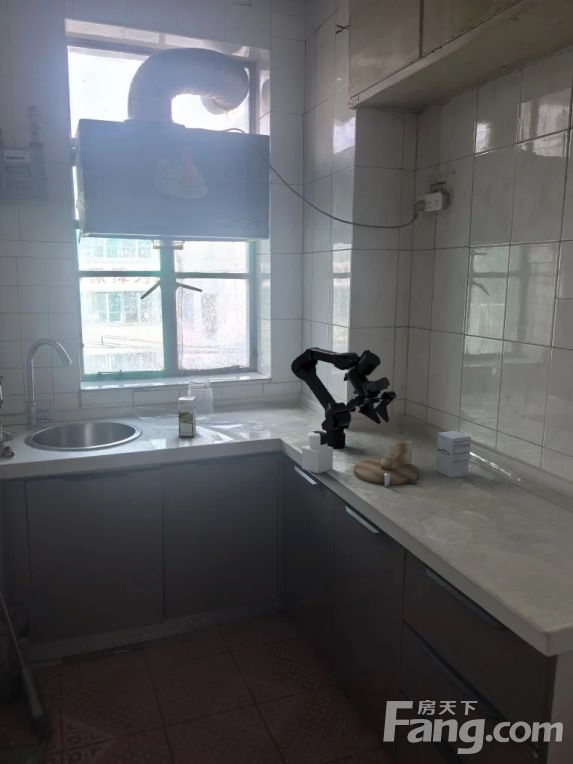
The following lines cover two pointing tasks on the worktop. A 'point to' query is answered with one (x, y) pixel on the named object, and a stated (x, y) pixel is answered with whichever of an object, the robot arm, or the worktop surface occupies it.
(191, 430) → the syrup box
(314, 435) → the medicine bottle
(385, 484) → the steel dowel
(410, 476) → the walnut flange plate
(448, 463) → the supplement box
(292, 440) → the worktop surface
